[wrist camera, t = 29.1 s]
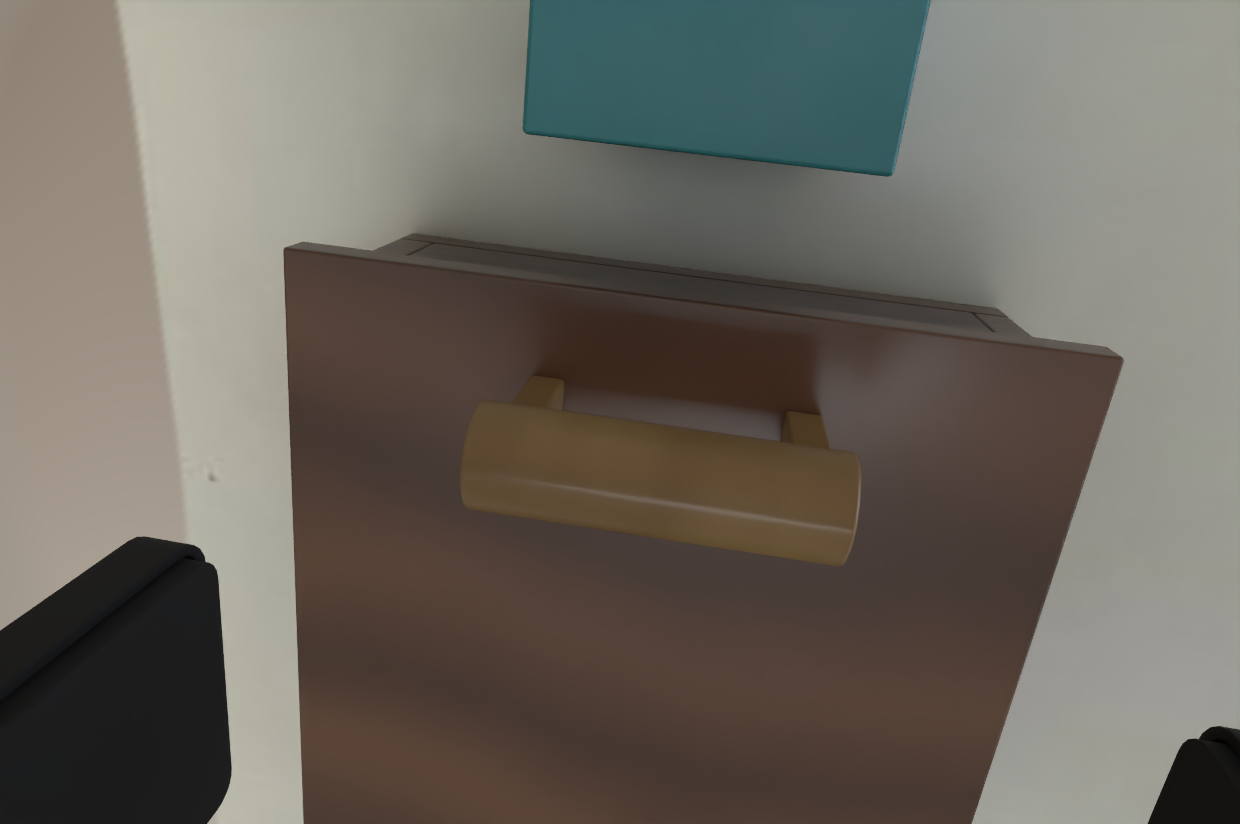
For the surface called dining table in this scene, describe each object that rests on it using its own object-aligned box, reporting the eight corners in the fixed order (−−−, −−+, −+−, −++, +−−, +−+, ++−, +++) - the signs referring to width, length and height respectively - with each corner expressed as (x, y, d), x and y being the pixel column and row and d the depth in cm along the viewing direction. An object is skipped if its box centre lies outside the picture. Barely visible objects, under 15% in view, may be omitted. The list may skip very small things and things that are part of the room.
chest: (411, 233, 24) (302, 280, 18) (998, 308, 22) (1095, 386, 16) (402, 788, 31) (322, 955, 25) (847, 869, 29) (876, 1067, 23)
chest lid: (301, 240, 17) (142, 293, 13) (1108, 346, 16) (1260, 448, 11) (321, 956, 25) (224, 1157, 20) (877, 1068, 23) (912, 1310, 19)
